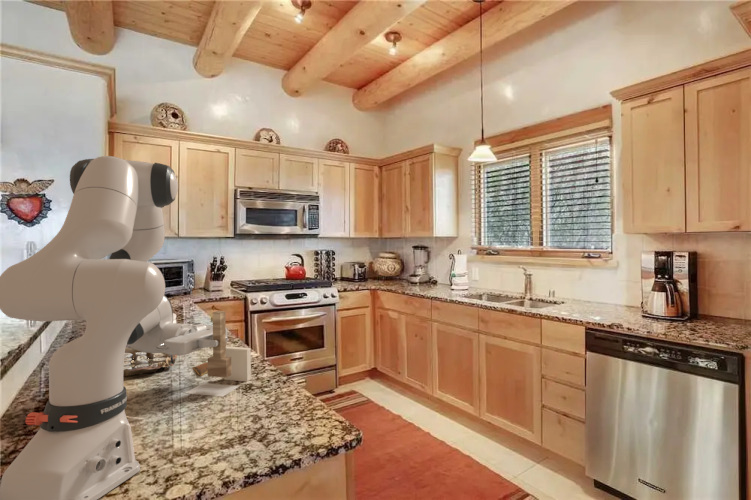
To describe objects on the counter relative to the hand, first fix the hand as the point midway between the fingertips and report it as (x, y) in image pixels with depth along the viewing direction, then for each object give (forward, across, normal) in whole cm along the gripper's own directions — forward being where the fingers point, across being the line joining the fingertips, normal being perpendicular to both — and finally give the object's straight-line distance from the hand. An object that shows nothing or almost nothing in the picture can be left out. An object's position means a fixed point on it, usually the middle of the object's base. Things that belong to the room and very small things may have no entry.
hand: (222, 341), depth 112 cm
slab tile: (-1, +9, +14) cm, 17 cm away
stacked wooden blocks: (-1, 0, +10) cm, 10 cm away
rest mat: (-3, 0, +14) cm, 14 cm away
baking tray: (-42, +15, +14) cm, 46 cm away
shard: (-16, +15, +15) cm, 26 cm away
